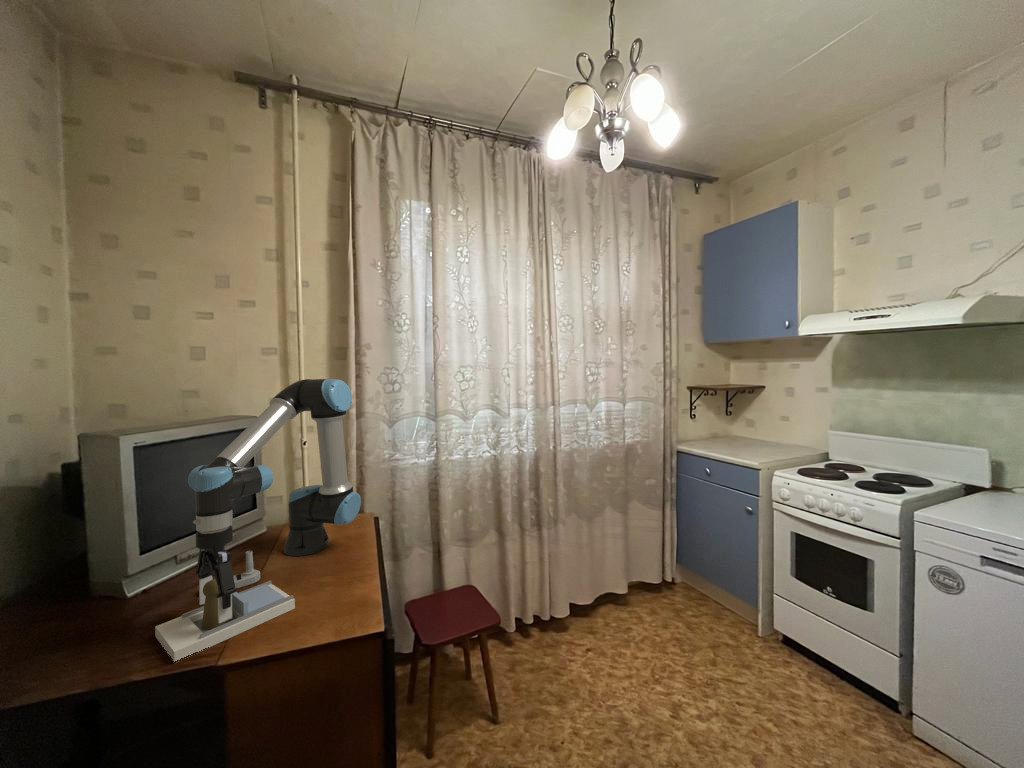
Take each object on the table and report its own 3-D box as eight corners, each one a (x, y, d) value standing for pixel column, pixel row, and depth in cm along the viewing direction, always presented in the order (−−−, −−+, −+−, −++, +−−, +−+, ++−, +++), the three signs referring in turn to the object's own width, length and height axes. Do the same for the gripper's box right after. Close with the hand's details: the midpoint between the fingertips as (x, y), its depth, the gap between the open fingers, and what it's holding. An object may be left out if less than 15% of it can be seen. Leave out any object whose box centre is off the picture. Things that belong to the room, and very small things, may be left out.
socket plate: (269, 590, 117) (269, 579, 117) (294, 608, 108) (294, 596, 108) (155, 636, 96) (155, 623, 96) (174, 663, 87) (174, 648, 87)
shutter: (265, 586, 115) (265, 573, 115) (285, 599, 108) (284, 586, 108) (225, 601, 107) (225, 588, 107) (243, 617, 100) (243, 603, 100)
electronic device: (199, 561, 117) (258, 546, 126) (200, 593, 117) (259, 576, 127) (199, 568, 113) (260, 552, 122) (200, 601, 113) (261, 582, 123)
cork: (211, 616, 103) (211, 575, 103) (235, 615, 103) (235, 574, 103) (195, 631, 97) (194, 587, 97) (220, 629, 97) (220, 586, 97)
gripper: (180, 523, 104) (181, 601, 104) (214, 545, 89) (215, 636, 89) (214, 515, 110) (215, 589, 110) (251, 534, 95) (251, 620, 95)
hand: (215, 611), depth 100 cm, fingers open, 13 cm apart
